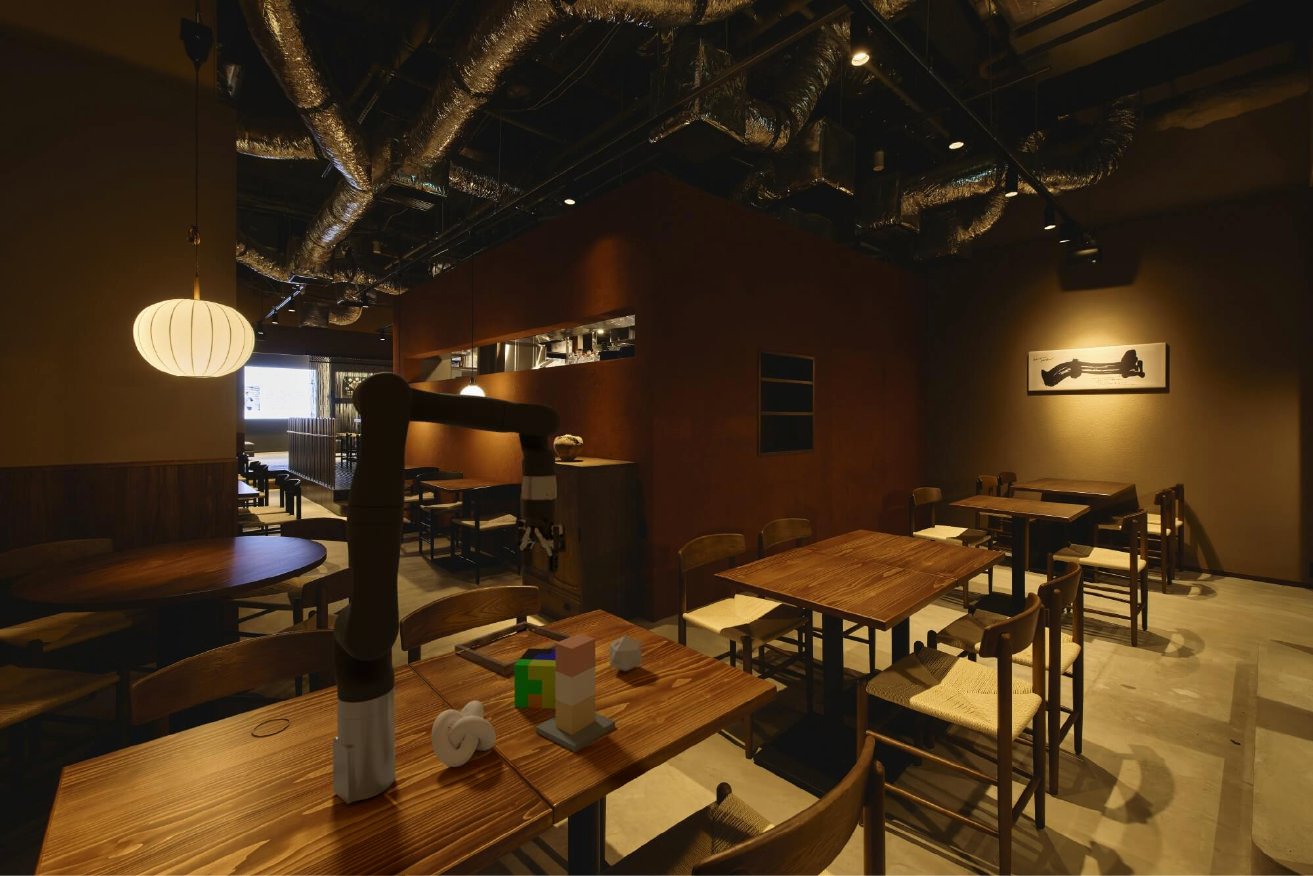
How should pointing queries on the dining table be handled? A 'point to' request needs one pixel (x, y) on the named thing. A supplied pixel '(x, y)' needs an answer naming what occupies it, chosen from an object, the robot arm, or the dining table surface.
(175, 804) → the dining table surface
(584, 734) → the baseplate
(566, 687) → the brick white
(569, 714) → the brick mustard
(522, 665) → the puzzle toy
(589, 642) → the brick terracotta
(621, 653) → the die
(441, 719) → the white knot
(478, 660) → the tray frame
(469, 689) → the dining table surface
